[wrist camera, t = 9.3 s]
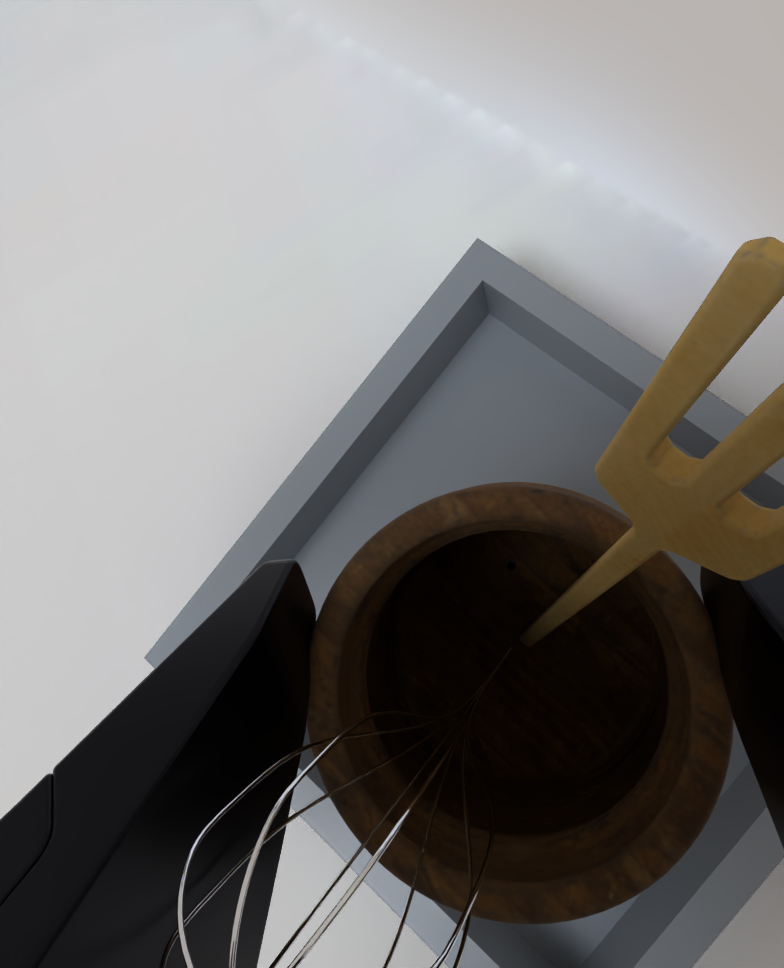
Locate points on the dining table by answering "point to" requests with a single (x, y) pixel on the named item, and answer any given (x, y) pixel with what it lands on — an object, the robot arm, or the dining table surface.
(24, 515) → the dining table surface
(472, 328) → the tray
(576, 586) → the utensil holder
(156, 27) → the dining table surface
